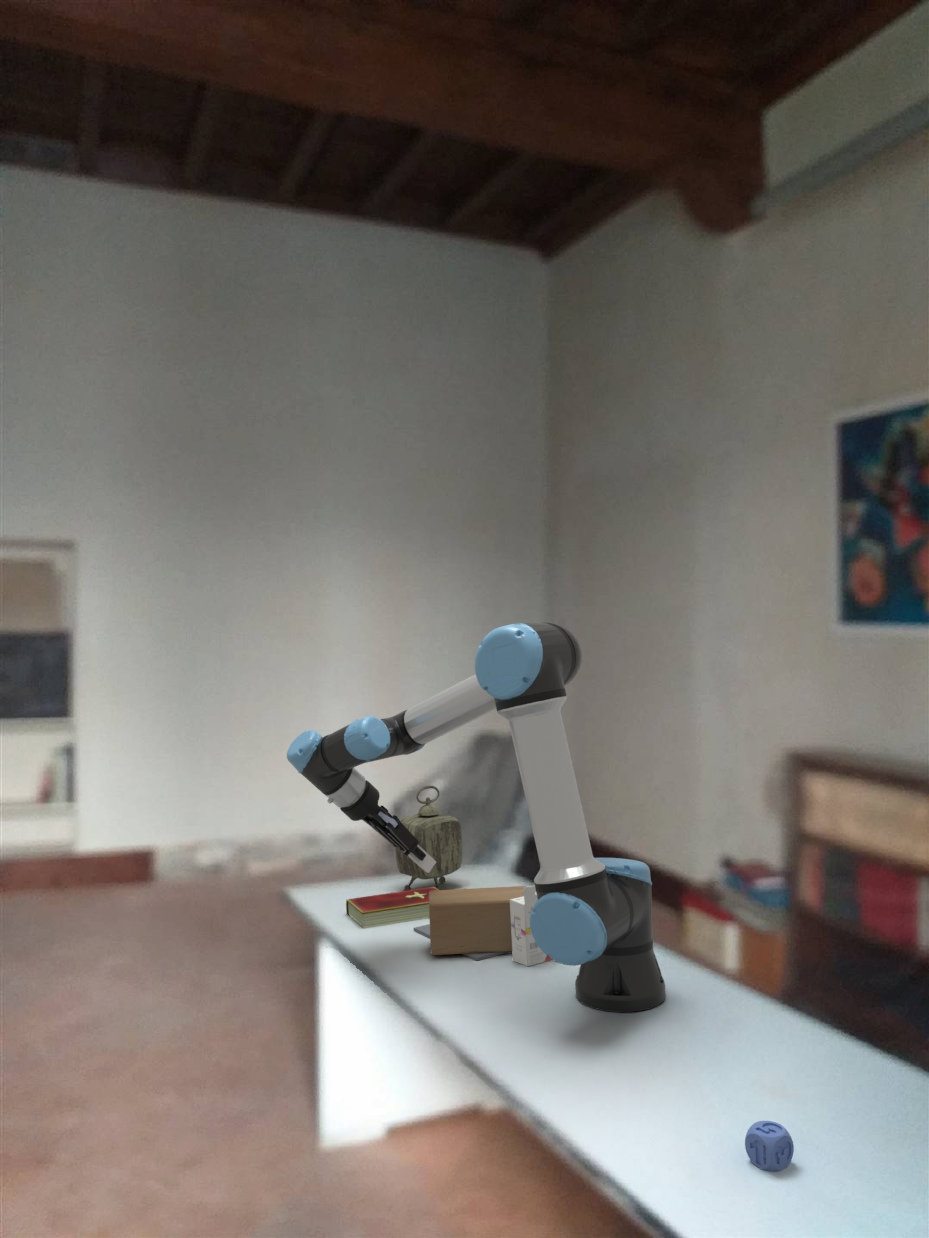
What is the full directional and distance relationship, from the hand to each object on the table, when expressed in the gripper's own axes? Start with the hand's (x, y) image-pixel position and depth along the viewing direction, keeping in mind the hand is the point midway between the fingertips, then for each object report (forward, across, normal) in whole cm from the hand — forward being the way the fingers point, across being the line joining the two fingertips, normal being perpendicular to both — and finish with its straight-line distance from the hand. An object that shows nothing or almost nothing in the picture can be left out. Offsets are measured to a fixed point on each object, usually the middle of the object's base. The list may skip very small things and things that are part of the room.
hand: (430, 866), depth 204 cm
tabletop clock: (+26, -35, +3) cm, 43 cm away
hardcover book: (+15, -22, -8) cm, 28 cm away
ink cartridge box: (+19, +20, -4) cm, 28 cm away
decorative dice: (+4, +94, -18) cm, 96 cm away
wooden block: (+5, +3, -9) cm, 11 cm away
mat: (+18, +2, -3) cm, 19 cm away
